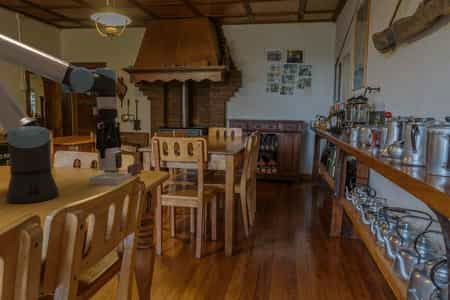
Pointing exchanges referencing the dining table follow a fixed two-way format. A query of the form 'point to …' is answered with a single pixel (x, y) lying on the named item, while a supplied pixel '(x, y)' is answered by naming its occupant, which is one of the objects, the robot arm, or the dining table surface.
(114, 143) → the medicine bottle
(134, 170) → the rack
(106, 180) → the tray
